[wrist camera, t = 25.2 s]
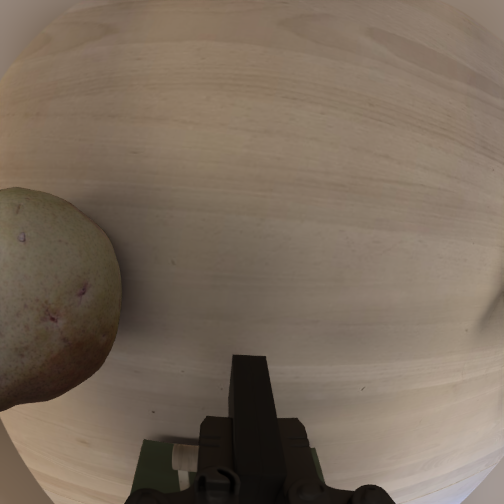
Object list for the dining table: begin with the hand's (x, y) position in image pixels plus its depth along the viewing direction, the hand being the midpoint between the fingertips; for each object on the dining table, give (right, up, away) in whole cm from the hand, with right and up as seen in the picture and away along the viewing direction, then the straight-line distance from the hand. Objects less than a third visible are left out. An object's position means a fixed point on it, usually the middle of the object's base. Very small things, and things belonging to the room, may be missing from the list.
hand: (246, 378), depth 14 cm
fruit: (-11, +6, +3) cm, 12 cm away
